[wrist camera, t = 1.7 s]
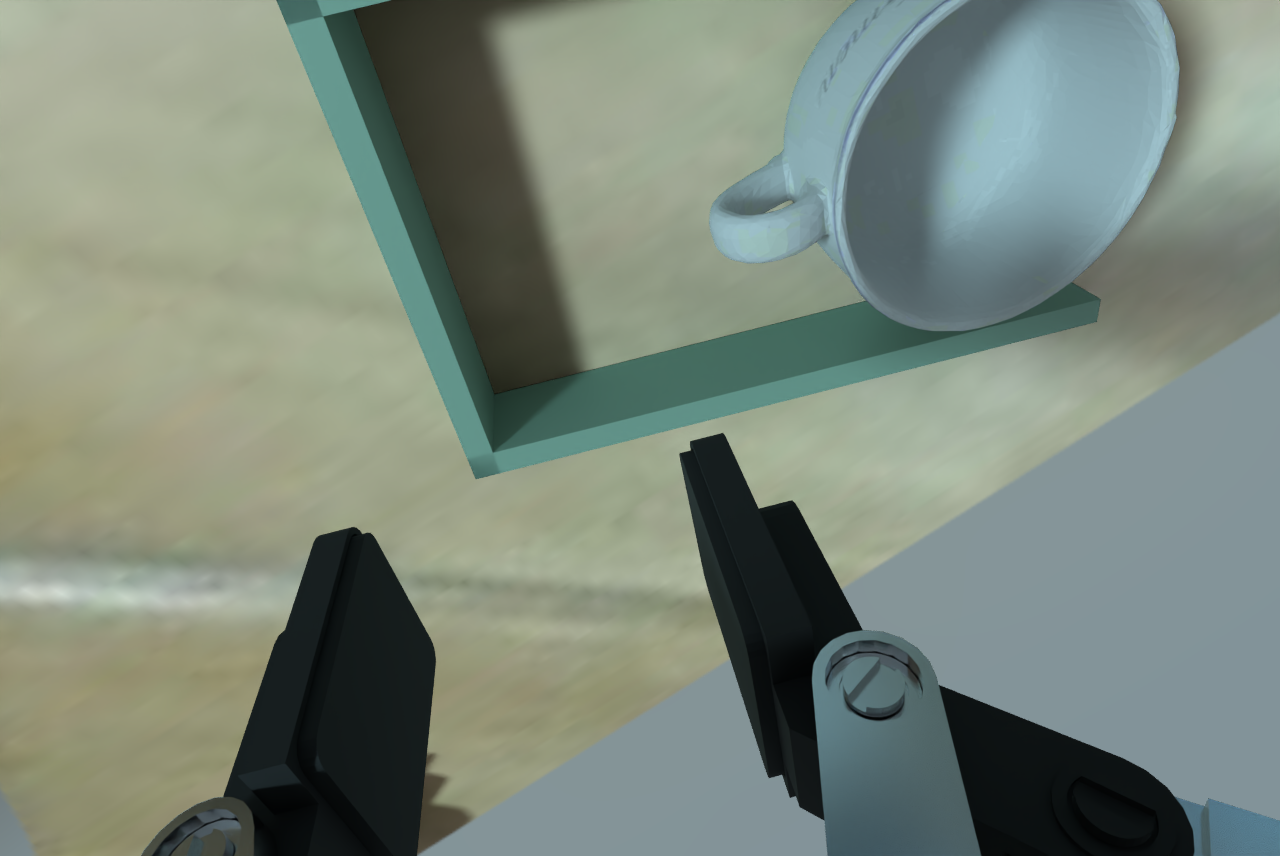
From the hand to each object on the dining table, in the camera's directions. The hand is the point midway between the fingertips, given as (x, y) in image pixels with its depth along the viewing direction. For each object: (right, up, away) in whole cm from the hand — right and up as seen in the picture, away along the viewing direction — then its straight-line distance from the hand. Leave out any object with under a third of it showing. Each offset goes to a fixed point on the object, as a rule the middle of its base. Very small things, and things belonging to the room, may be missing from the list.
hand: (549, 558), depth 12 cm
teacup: (+10, +14, +17) cm, 24 cm away
